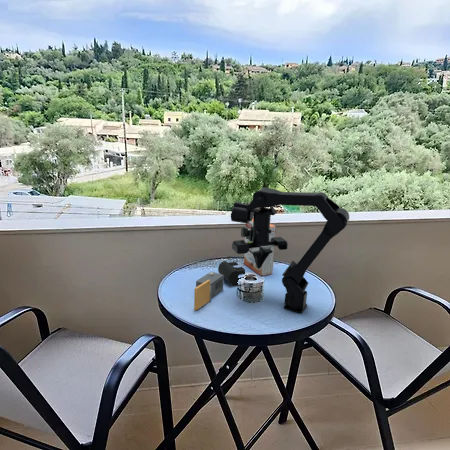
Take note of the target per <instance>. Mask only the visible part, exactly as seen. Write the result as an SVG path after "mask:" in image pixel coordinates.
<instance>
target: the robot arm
mask: <svg viewBox="0 0 450 450" xmlns="http://www.w3.org/2000/svg"><path fill="white" fill-rule="evenodd" d="M276 206H300V207H301V206H302V207H306V206H307V207H315V208H316V209H318V211H319V212H320V214H321V215H322V217H323V218H324V219H325V220H326V222H325V224H324V227H323V228H322V231H321V232H320V233H319V234H318V236H317V237H316V239H314V241H313V242H312V244H311V245H310V246H309V248H308V249H307V250H306V251H305V253H303V255H302V257H300V259H299V260H298V261H297V262H295V261H294V260H292V261H291V262H290V264H289V265H288V267H286V269H285V270H284V272H283V273H282V278H281V283H282V285H283V287H284V288H285V291H286V293H284V301H283V302H284V303H283V304H284V306H283V309H285V310H288V311H291V312H294V313H298V314H302V313H303V312H304V311H305V309H307V307H308V304H307V299H308V298H307V297H308V291H307V288H308V285H309V282H308V281H307V279H306V278H305V277H304V276H305V274H306V272H307V270H308V269H309V267H310V266H311V265H312V263H313V262H314V261H315V259H316V258H317V257H318V256H319V255H320V253H321V252H322V251H323V250H324V248H325V247H326V246H327V245H328V244H329V242H330V241H331V240H332V239H333V238H334V237H335V236H337V235H338V234H340V232H342V231H343V230H344V229H345V228H346V227H347V226H348V225H347V224H348V222H349V220H350V214H349V211H347V209H344V208H342V207H341V206H339V204H337V203H336V202H335V201H333V199H330V198H329V196H327V194H326V193H324V192H321V191H320V192H319V191H318V192H295V191H280V190H278V189H275V188H269V187H262V188H260V189H259V190H257V191H256V192H254V194H253V196H252V200H251V202H249V203H243V202H239V201H236V202H234V203H233V207H232V209H231V213H230V220H231V222H234V223H235V222H236V223H241V224H245V225H246V224H248V223H249V222H250V221H252V220H253V226H251V230H248V228H246V227H241V229H240V237H242V238H245V237H246V239H249V241H252V243H246V242H245V239H244V240H243V239H241V240H233V241H232V243H231V249H232V250H233V251H234V252H235V253H236V254H238V255H241V254H243V255H244V253H247V252H248V251H250V252H251V253H252V254H253V256H254V259H255V263H256V266H257V268H258V269H259V268H261V266H262V265H263V263H264V261H265V260H266V258H267V257H268V255H269V254H270V253H272V252H273V251H272V250H271V247H272V246H274V247H277V248H278V250H279V251H282V250H288V249H289V248H288V247H289V243H288V241H287V240H286V239H284V238H283V237H282V236H275V237H273V238H271V241H269V233H271V230H270V224H271V217H272V216H275V215H276V214H277V213H278V211H277V210H276V209H275V208H274V207H276Z"/></svg>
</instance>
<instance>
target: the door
mask: <svg viewBox="0 0 450 450" xmlns="http://www.w3.org/2000/svg"><path fill="white" fill-rule="evenodd" d="M193 300H194V301H193V302H194V306H193V310H194V311H198V310H199V309H200V308H202V307H203V306H204V305H205V306H206V305H207V304H208V303H211V301H212V298H211V285H210V280H207V281H206V282H204V283H202V284H201V285H199V286H197V287H196V286H195V287H194V298H193Z"/></svg>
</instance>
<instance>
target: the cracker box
mask: <svg viewBox="0 0 450 450" xmlns="http://www.w3.org/2000/svg"><path fill="white" fill-rule="evenodd" d="M251 226H253V220H252V221H250V222H249V223H248V224H246V223H245V228H248V230H251ZM270 230H271V233H269V241H271V238H273V237H276V231H277V230H276V225H274V224H273V223H270ZM244 241H245V242H246V243H252V241H249V239H246V237H244ZM271 250H272V251H273V252H272V253H270V254H269V255H268V257H267V258H266V260H265V261H264V263H263V265H262V266H261V268H259V269H258V268H257V266H256V263H255V259H254V256H253V254H252V253H251V252H250V251H248V252H247V253H244V254H243V255H244V256H243V265H245V266H246V267H248V268H249V269H250V270H252V271H253V272H254V271H255V272H254V273H256V274H257V273H258V274H257V275H259V274H260V275H263V276H262V277H265V276H270V275H273V271H274V256H275V246H272V247H271ZM260 275H259V276H260Z"/></svg>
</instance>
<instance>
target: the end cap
mask: <svg viewBox="0 0 450 450" xmlns="http://www.w3.org/2000/svg"><path fill="white" fill-rule="evenodd" d="M238 265H239V263H238V262H236V261H231V262H228V261H227V260H224V261H221V262H220V264H219V265H218V266H217V267H218V268H217V271H218V272H217V273H218V274H222V275H224V279H225V280H226V281H227V282H228V283H229V284H230V285H232V286H233V287H236V286H239V285H238V283H237V282H238V280H239V279H241V278H244V277H245V276H242V275H246V268H244V267H243V266H239V267H236V266H238ZM240 276H241V277H240ZM239 277H240V278H239Z"/></svg>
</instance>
